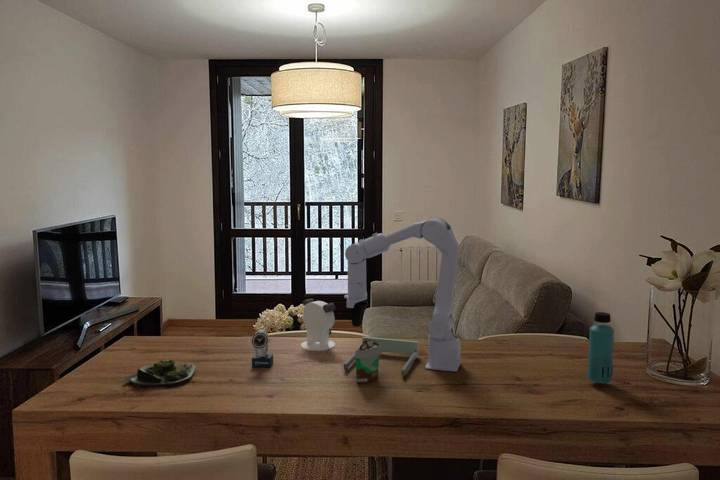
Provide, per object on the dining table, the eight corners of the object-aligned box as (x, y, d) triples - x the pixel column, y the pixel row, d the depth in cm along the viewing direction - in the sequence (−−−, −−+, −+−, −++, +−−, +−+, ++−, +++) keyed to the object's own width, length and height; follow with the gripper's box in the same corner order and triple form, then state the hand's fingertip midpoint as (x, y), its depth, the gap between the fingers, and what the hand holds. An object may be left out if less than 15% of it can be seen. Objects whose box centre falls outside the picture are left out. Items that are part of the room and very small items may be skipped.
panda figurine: (343, 345, 199) (343, 301, 197) (319, 353, 191) (319, 307, 189) (317, 338, 207) (317, 295, 205) (293, 346, 199) (292, 301, 197)
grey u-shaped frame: (418, 356, 187) (418, 341, 187) (404, 378, 169) (404, 361, 168) (363, 351, 193) (363, 336, 192) (343, 371, 174) (343, 355, 174)
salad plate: (143, 365, 182) (142, 350, 181) (202, 364, 183) (201, 349, 182) (120, 390, 163) (119, 373, 162) (186, 388, 163) (185, 372, 163)
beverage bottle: (600, 390, 160) (604, 317, 157) (581, 382, 166) (584, 311, 163) (617, 386, 163) (621, 314, 160) (597, 378, 169) (601, 309, 166)
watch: (250, 370, 176) (249, 334, 175) (256, 361, 184) (255, 326, 183) (269, 370, 176) (268, 334, 174) (274, 361, 184) (273, 326, 182)
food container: (377, 388, 162) (377, 352, 161) (355, 386, 164) (355, 350, 162) (385, 372, 174) (385, 338, 173) (364, 370, 176) (364, 337, 174)
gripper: (351, 276, 192) (352, 318, 193) (336, 286, 178) (337, 330, 180) (373, 278, 189) (373, 320, 191) (359, 287, 176) (359, 332, 178)
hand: (357, 325), depth 185 cm, fingers closed
